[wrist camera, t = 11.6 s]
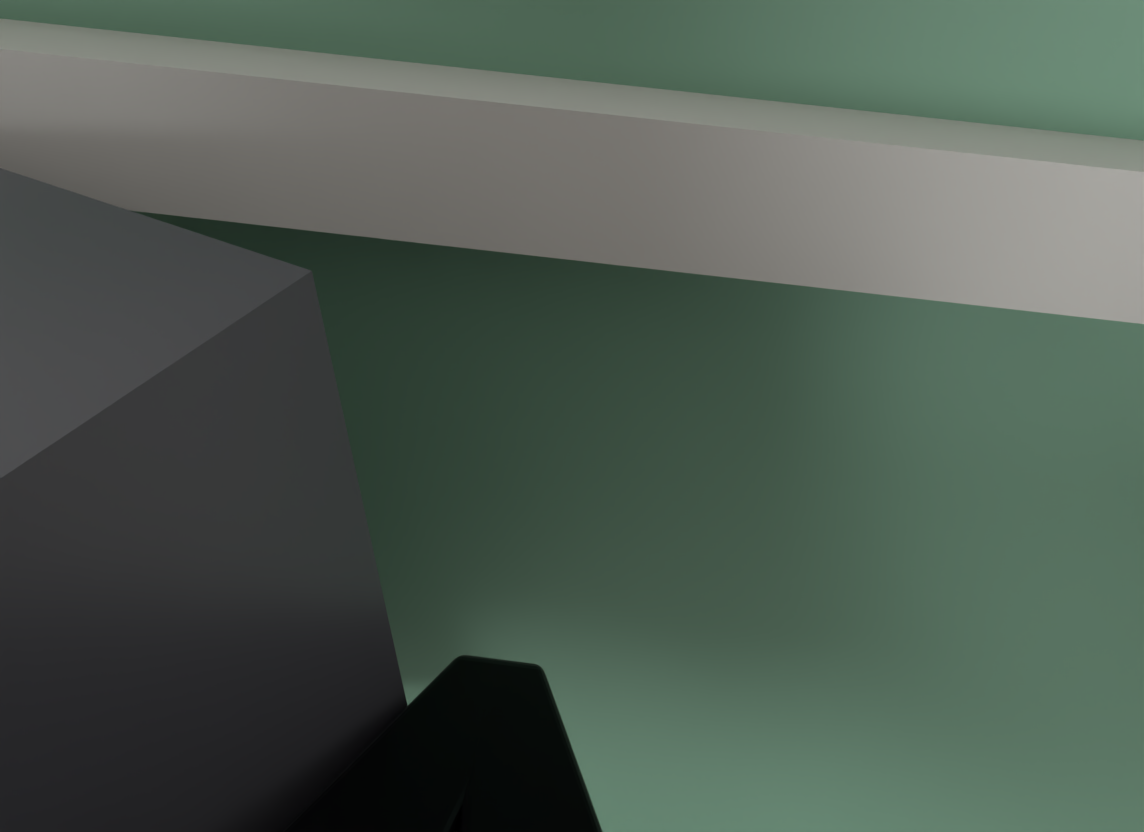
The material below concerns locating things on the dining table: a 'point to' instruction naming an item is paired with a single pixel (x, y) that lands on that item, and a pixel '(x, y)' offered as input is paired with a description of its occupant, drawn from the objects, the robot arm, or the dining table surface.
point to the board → (700, 362)
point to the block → (173, 532)
